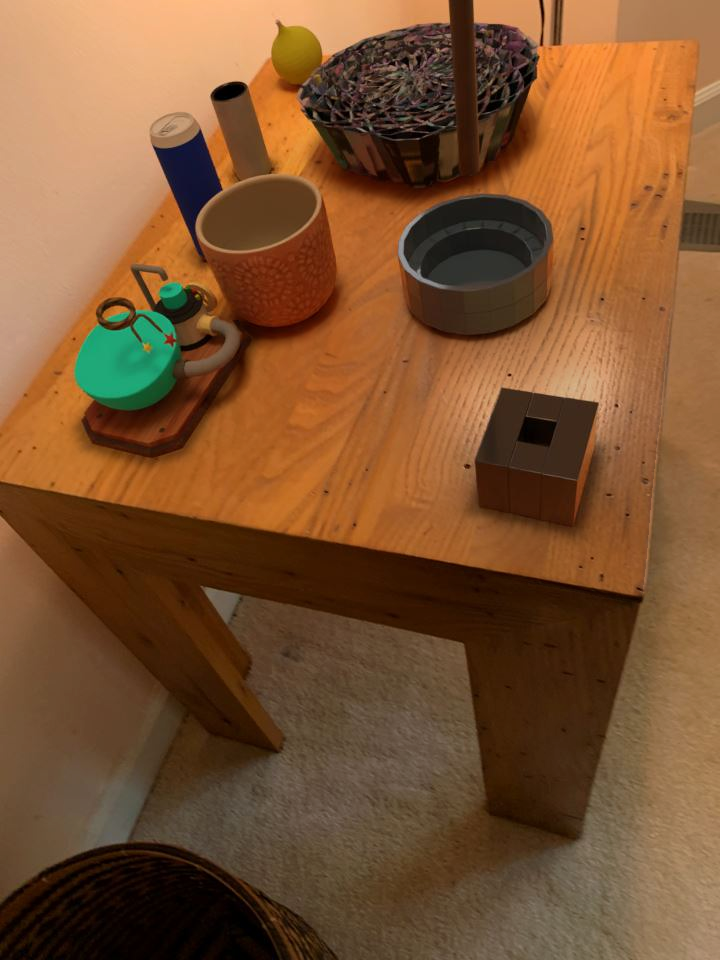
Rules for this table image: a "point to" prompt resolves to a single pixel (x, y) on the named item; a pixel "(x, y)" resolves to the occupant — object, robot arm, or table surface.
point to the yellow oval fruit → (295, 53)
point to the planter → (270, 248)
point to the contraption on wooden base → (156, 367)
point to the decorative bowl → (417, 100)
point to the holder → (536, 455)
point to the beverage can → (185, 165)
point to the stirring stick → (465, 84)
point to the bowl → (476, 263)
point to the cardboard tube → (241, 129)
